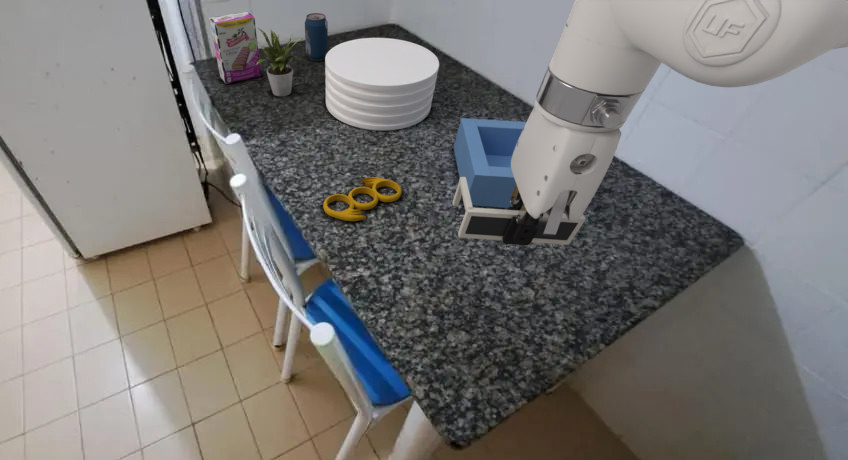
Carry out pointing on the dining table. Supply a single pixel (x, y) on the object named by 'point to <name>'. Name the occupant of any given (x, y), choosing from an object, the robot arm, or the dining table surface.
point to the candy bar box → (235, 46)
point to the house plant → (278, 65)
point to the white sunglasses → (504, 221)
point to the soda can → (316, 36)
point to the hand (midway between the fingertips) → (513, 237)
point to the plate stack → (380, 83)
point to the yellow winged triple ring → (357, 214)
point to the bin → (487, 159)
